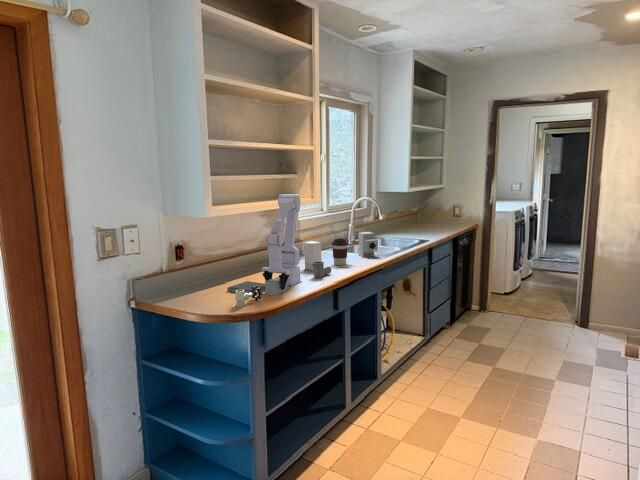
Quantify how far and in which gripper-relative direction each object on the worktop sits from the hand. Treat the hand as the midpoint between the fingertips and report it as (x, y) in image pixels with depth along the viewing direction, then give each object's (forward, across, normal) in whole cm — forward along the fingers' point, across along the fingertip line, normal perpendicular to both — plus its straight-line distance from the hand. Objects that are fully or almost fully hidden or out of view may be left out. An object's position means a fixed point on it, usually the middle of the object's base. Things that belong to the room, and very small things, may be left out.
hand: (276, 288), depth 204 cm
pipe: (+2, +2, +36) cm, 37 cm away
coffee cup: (+2, -4, +68) cm, 68 cm away
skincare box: (+2, -11, +49) cm, 50 cm away
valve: (+2, 0, -20) cm, 21 cm away
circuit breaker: (+2, 0, +98) cm, 98 cm away
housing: (+2, 0, 0) cm, 2 cm away
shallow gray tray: (+2, -14, -3) cm, 14 cm away
